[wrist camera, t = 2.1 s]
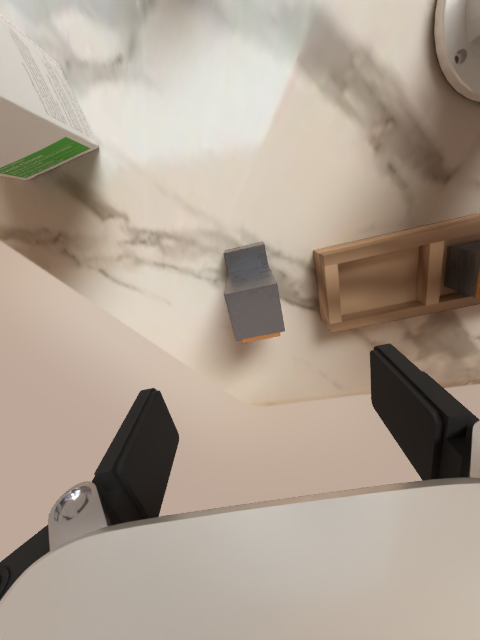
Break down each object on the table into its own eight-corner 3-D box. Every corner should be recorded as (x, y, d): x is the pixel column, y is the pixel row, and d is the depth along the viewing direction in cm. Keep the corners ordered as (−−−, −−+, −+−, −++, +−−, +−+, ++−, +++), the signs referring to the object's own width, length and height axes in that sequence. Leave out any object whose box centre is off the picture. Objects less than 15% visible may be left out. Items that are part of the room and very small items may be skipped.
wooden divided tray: (313, 250, 26) (323, 255, 23) (520, 204, 25) (562, 203, 21) (320, 319, 30) (330, 332, 26) (505, 282, 28) (540, 292, 24)
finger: (262, 241, 26) (272, 256, 18) (273, 300, 29) (286, 337, 20) (225, 250, 27) (217, 268, 18) (238, 308, 29) (237, 346, 21)
